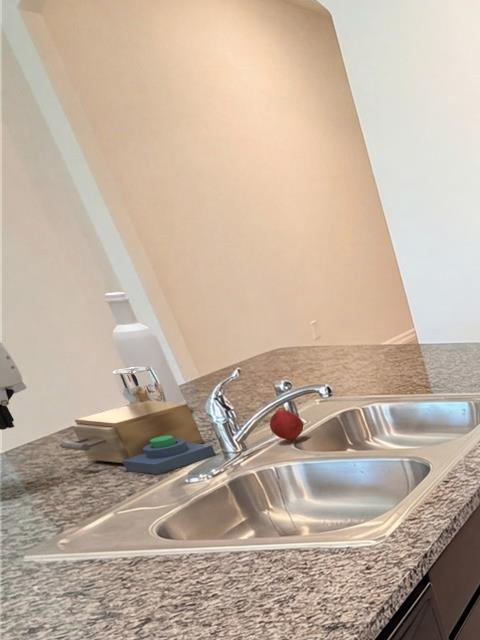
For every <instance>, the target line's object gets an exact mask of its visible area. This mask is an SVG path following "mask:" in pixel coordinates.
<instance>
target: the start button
mask: <svg viewBox="0 0 480 640" xmlns="http://www.w3.org/2000/svg"><path fill="white" fill-rule="evenodd" d="M150 443H151V445H152V447H153V448H163V447H168V446H171V445H174V444H176V442H175V440H174V438H173V436H161V437H156V438H153V439H151V440H150Z"/></svg>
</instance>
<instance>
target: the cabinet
mask: <svg viewBox="0 0 480 640" xmlns="http://www.w3.org/2000/svg"><path fill="white" fill-rule="evenodd" d="M74 421H75V425H76V424H84V425H90V424H91V425H102V426H112V427H115V429H116V431H117V433H118V435H119V437H120V439H121V441H122V443H123V445H124V447H125V449H126V451H127V453H128V455H129V457H130V458H132V457H135V456H138V455H141V454H144V453H145V452H144V450H143V447H145V446H147V445H149V444H151V443H150V440H151V439H153V438H156V437H161V436H173V438H174V439H183V440H185V442H186V443H194V444H204V443H205V441H204V439H203V437H202V434H201V432H200V430H199V428H198V425H197V422H196V420H195V419H194V416H193V413H192V411H191V409H190V407H189V404H188V403H187V404H185V403H173V402H160V401H144V402H141V403H137V404H133V405H129V404H128V405H125V406H122V407H121V406H120V407H117V408H113V409H110V410H106V411H102V412H98V413H94V414H90V415H85V416H83V417H79V418H74ZM96 461H98V462H105V463H106V462H107V463H116V464H123V463H122V462H113V461H104V460H96Z"/></svg>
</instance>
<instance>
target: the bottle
mask: <svg viewBox="0 0 480 640" xmlns="http://www.w3.org/2000/svg"><path fill="white" fill-rule="evenodd" d="M103 296H104V298H105V303H107V305H108V307H109V309H110V311H111V313H112V315H113V318H114V320H115V321H116V324H117V325H116V327H115V328H114V329H113V330H112V336H111V337H112V342H113V344H114V347H115V349H116V351H117V353H118V356H119V357H120V360H121V362H122V364H123V366H124V368H129V367H137V366H151V367H152V369H153V371H154V372H155V374H156V376H157V378H158V379H159V381H160V383H161V386H162V388H163V391H164V395H165V399H166V402H173V403H185V404H187V405H188V403H187V401H186V399H185V397H184V394H183V393H182V390H181V389H180V386H179V384H178V381H177V379H176V377H175V375H174V373H173V370H172V369H171V365H170V363H169V361H168V359H167V357H166V354H165V352H164V349H163V347H162V346H161V343H160V341H159V339H158V336H157V335H156V333H155V332H154V331H153V330H152V329H151V328H150V327H149V326H146V325H145V324H143V323H140V322H139V320H138V319H137V316H136V314H135V311H134V309H133V307H132V305H131V303H130V298H129V297H128V296H127V294H126V292H122V291H119V292H118V291H115V292H107V293H105V294H104V295H103Z"/></svg>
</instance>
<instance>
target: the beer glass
mask: <svg viewBox="0 0 480 640" xmlns="http://www.w3.org/2000/svg"><path fill="white" fill-rule="evenodd" d="M112 374H113V376H114V379H115V382H116V385H117V387H118V389H119V392H120V393H121V395H122V397H123V400H125V401H126V403H127V404H128V406H129V405H133V404H137V403H141V402H144V401H160V402H166V399H165V395H164V391H163V388H162V386H161V383H160V381H159V379H158V378H157V376H156V374H155V372H154V371H153V369H152V367H151V366H137V367H129V368H125V367H124V368H119V369H115V370H114V371H112Z"/></svg>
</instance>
